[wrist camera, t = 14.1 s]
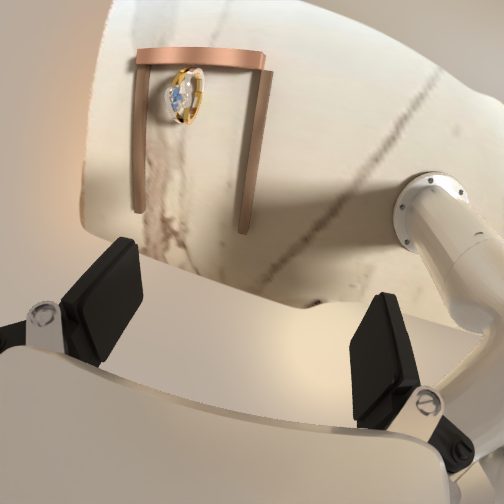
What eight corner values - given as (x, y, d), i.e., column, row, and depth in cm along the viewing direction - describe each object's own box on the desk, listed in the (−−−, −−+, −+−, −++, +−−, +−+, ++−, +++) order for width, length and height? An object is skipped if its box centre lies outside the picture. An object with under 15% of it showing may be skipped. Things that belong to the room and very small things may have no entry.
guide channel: (275, 57, 29) (272, 53, 25) (248, 229, 42) (242, 243, 39) (144, 51, 30) (129, 49, 26) (139, 208, 43) (126, 220, 40)
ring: (206, 121, 34) (182, 131, 28) (183, 117, 34) (156, 126, 28) (218, 71, 31) (197, 68, 24) (195, 67, 31) (168, 64, 24)
